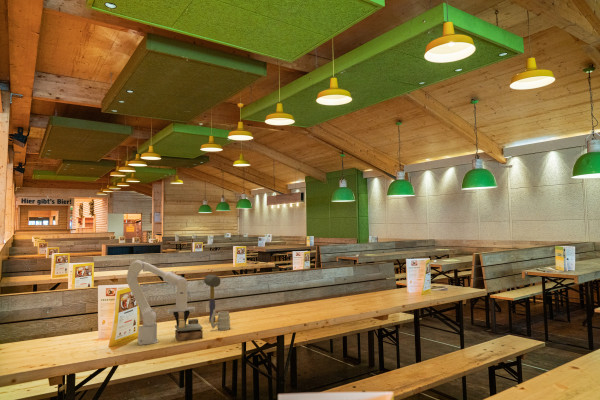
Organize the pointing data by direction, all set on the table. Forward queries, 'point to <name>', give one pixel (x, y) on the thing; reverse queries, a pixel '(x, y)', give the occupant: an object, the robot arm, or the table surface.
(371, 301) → the table surface
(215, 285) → the rubber mallet
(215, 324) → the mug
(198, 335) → the toolbox
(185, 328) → the lid
